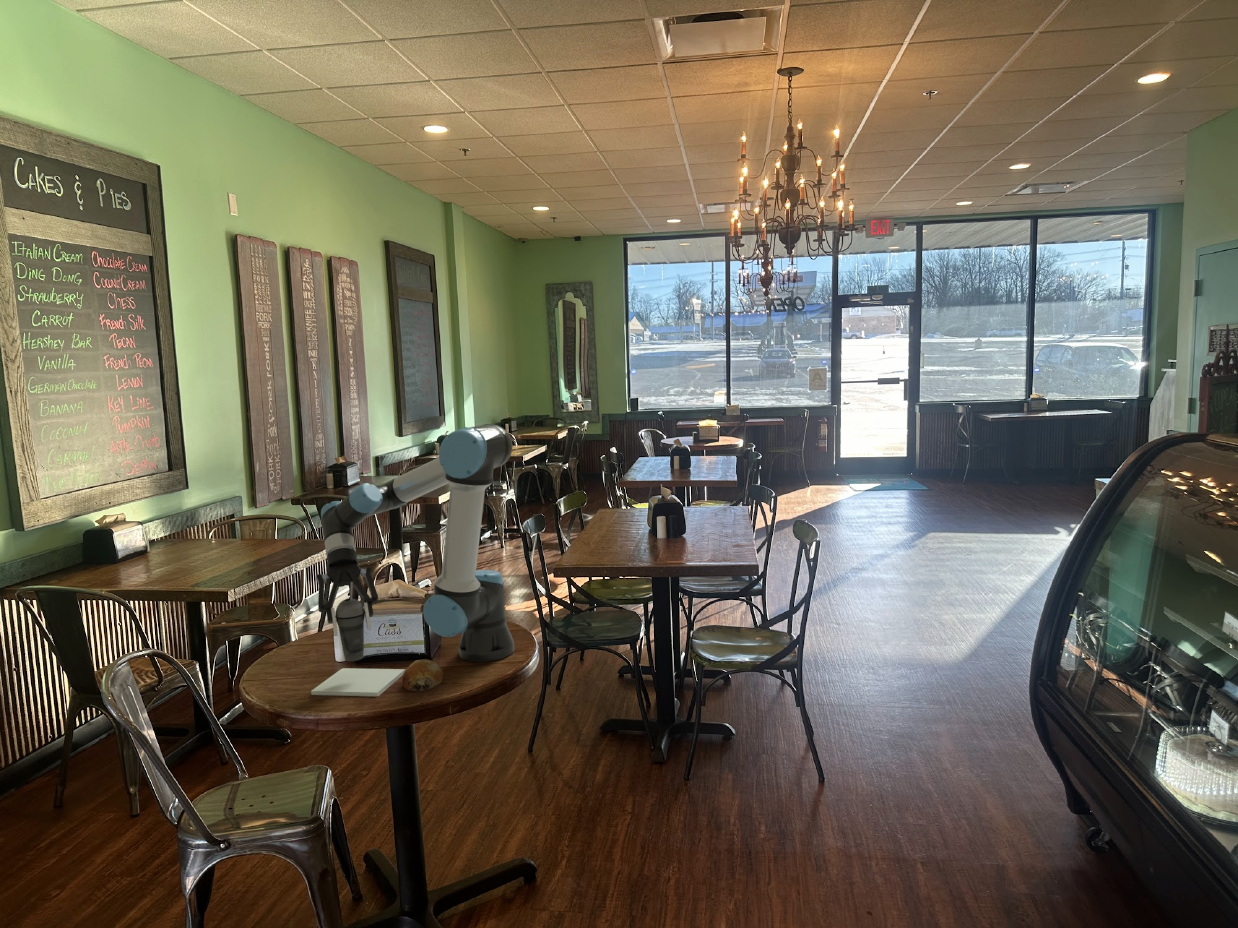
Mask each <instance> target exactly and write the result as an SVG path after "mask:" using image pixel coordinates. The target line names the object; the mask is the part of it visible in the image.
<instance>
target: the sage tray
mask: <svg viewBox="0 0 1238 928" xmlns="http://www.w3.org/2000/svg"><path fill="white" fill-rule="evenodd" d="M405 670H406V669H405V668H404V669H403V668H402V669H401V668H400V669H399V668H397V669H395V668H357V667H356V668H354V667H353V668H347V667H346V668H345V667H343V668H341V669H340V670H338V671H337V672H335V673H334V674H332V675H331V676H330V677H328V678H327V679H325V680H324V681H323V682H322V683H320V684H319V685H318V686H316V687H314V688H313V689H311V691H310V694H311V696H338V697H339V696H343V697H345V696H346V697H348V696H349V697H379V696H380V695H382V694H383V693H384V692H385V691H387V689H389V687H391V686H392V685H393V684H394V683H396V682H397V681H398V680H399V679H400V678H401V677H403V674H404V671H405Z"/></svg>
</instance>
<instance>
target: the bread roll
mask: <svg viewBox="0 0 1238 928" xmlns="http://www.w3.org/2000/svg"><path fill="white" fill-rule="evenodd" d="M443 676H444V671H443V669H442V667H440V665H439V664H438V663H436V662H435V661H433V660H430V659H425V658H424V659H417V660H414V661H413V662H412V663H410V664H409V666H408V667H407V668H406V669H405V671H404V674H403V675H402V686H403V687H404V688H405V690H406V691H409V692H422V691H423V692H424V691H427V690H430V689H433V688H436V687H439V686H440V684H441V683H442V682H443V678H444V677H443Z"/></svg>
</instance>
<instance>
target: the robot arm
mask: <svg viewBox="0 0 1238 928" xmlns="http://www.w3.org/2000/svg"><path fill="white" fill-rule="evenodd" d="M512 452H513V441H512V438H511V436H510V434H509V433H508V431H507V430H506V429H504V428H503V427H502V426H500V425H497V424H493V423H485V424H482V425H477V426H470V427H468V426H467V427H462V428H459V429H456V430H454V431H452V432H450V433H448V435H446V436H445V437H444V439H443V440H442V442H441V443H440V447H439V450H438V457H437V458H434V459H432V460H431V461H429V462H426V463H424V464H422V465H420V466H418V467H416V468H414V469H412V470H410V471H408V472H405V473H404V474H401V475H399V476H398V477H395V478H394V479H391V480H388V481H387V482H385V483H382V484H378V485H375V484H371V483H369V482H364V483H361V484H359V486H357V487H355V488H354V489H353V490H352V491H351V492H350V493H349V494H348V495H347V496H346V497H345V498H343V500H341V501H340V500H335V501H331V502H330V503H326V504H324V505H323V507H322V508H321V509H320V510H321V511H320V518H321V519H320V524H321V527H322V534H323V541H324V548H325V555H326V563H327V572H326V573H325V574H321V573H318V574H317V575H316V583H317V585H318V602H317V608H318V612H319V613H326V618H327V623H328V624H332V628H333V634H334V635H333V636H334V637H337V636H339V634H338V632H339V631H338V624H337V621H336V616H335V615H336V609H335V607H334V604H335V601H336V597H337V594H338V592H339V589H340V588H342V587H345V586H350V587H351V582H353V589H354V590H355V591H356V592H357V594H358V595H359V597H360V598H361V600H362V601H363V608H364V611H365V614H364V619H365V623H366V629H367V630H366V631H371V626H372V624H371V618H372V617H373V616H374V609H373V605H374V604H378V603H379V594H378V592H377V589H376V586H375V584H374V580H373V577H372V567H370V566H367V567H366V568H361V567H360V565H359V562H358V557H357V551H356V545H355V544H356V543H355V538H354V532H353V530H354V529H355V528H356V527H357V526H358V525H359V524H361V523H362V522H363V521H364V520H366V519H367V518H369V517H371V516H374V515H377V514H381V513H384V512H387V511H390V510H396V509H398V508H401V507H403V506H406V505H407V503H408V502H409V503H410V502H412V501H413V500H415V499H417V498H420V497H422V496H424V495H426V494H429V493H430V492H433V491H434V490H437V489H439V488H442V487H444V486H445V485H450V490H449V499H448V500H449V501H448V510H447V520H446V529H445V538H444V547H443V556H442V557H443V558H442V565H441V566H442V568H441V574H440V575H439V576H437V577H436V578H435V580H434V586H433V594H432V595H431V596H430V597H429V598H428V599H427V600H426V601H425V602H424V605H423V608H422V609H423V611H422V612H423V617H424V621H425V623H426V625H428V626H429V627H430V630H431V631H432V632H433V633H435V635H436V634H437V635H438V636H440V637H443V638H452V637H456V636H457V635H461V637H460V641H459V646H458V653H459V654H458V655H459V658H460V659H461V660H463V661H467V662H471V663H472V662H474V663H484V662H485V663H486V662H487V663H488V662H492V661H498V660H501V659H504V658H506V657H509V656H511V655H512V654H513V653H514V652H515V641H514V639H513V636H512V634H511V632H510V629H509V627H508V625H507V618H506V605H505V594H504V593H505V590H504V587H505V586H504V585H505V584H504V582H503V576H502V573H501V572H499V571H498V570H492V569H478V570H477V566H478V565H477V563H478V555H479V546H480V539H481V529H482V528H481V527H482V519H483V510H484V502H485V493H486V489H487V488H488V487H489V486H491V485H492V484H493V478H494V477H493V476H494V469H497V468H499V467H501V466H503V465H505V464H506V463H507V462H508V461H509V459H510V458H511V455H512ZM360 575H362V577H364V579H365V581H366V585H367V588H368V590H369V593H370V596H369V594H368V592H367V591H366V589H365V588H364V586H363V585H362V584H361V583H360V581H359V577H360ZM327 580H330V582H331V583H332V586H331V590H330V593H329V596H328V598H327V602H326V604H325V584H326V583H327Z"/></svg>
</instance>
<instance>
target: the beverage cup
mask: <svg viewBox="0 0 1238 928" xmlns="http://www.w3.org/2000/svg"><path fill="white" fill-rule="evenodd" d="M353 590H354V588H353V582H351V585H350V593H349V595H350V598H349V597H348V598H345V599H343V600H342V601H340V602H339V603H338V605H337V607H336V609H335V616H336V624H337V628H338V632H339V638H340V641H341V643H340V644H341V647H342V652H343V657H344V660H345V661H346V662H355V661H356V662H357V661H360V660H362V659H363V658H364V651H365V649H364V648H365V647H364V646H365V645H364V643H365V642H364V639H365V637H364V635H365V634H364V632H365V631H364V629H365V628H364V626H365V625H364V622H365V611H364V605H363V604H362V603H361V602H360V600H358V599H357V598H353Z"/></svg>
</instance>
